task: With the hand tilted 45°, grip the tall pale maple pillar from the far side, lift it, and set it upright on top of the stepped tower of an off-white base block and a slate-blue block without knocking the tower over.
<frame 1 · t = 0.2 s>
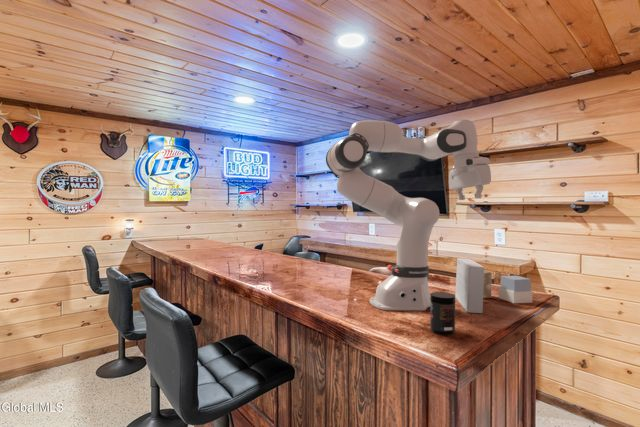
hand: (469, 199, 128), 39 cm above the bar top, tool pointing down, fingers open, 8 cm apart
base block: (515, 300, 129), on the bar top, touching top block
top block: (515, 289, 129), point 4 cm above the bar top, touching base block
skincare box: (468, 305, 122), on the bar top
maple pillar: (482, 296, 135), on the bar top
supplement container: (442, 331, 96), on the bar top
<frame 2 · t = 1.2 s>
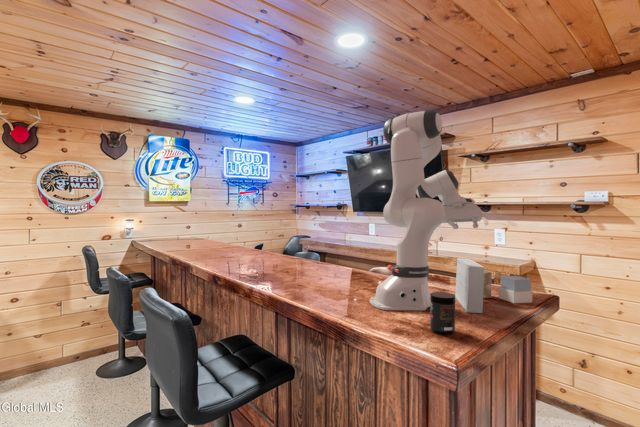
hand: (466, 227, 146), 27 cm above the bar top, tool tilted 45°, fingers open, 8 cm apart
base block: (514, 300, 129), on the bar top
top block: (515, 289, 129), point 4 cm above the bar top
everything else where it was.
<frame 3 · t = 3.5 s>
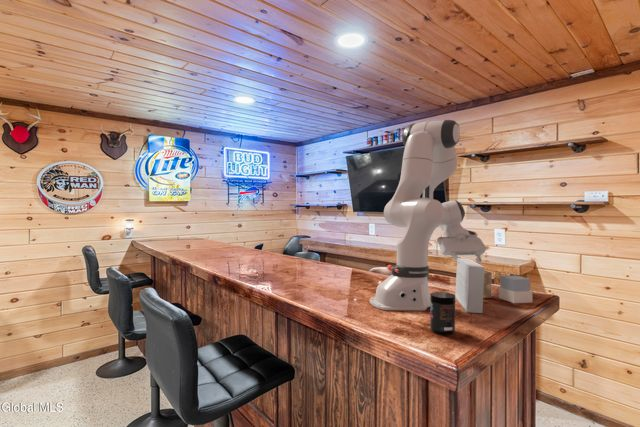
hand: (469, 261, 143), 13 cm above the bar top, tool tilted 45°, fingers open, 8 cm apart
base block: (515, 300, 129), on the bar top, touching top block
top block: (514, 288, 130), point 4 cm above the bar top, touching base block
everything else where it was.
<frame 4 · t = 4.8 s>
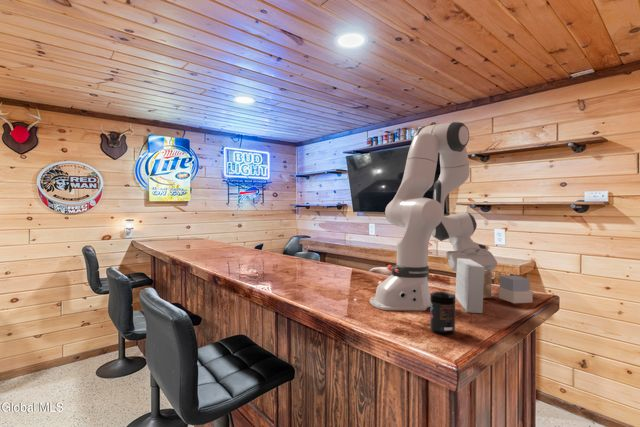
hand: (480, 277, 136), 7 cm above the bar top, tool tilted 45°, fingers open, 8 cm apart
base block: (515, 300, 129), on the bar top
top block: (514, 289, 129), point 4 cm above the bar top
everything else where it was.
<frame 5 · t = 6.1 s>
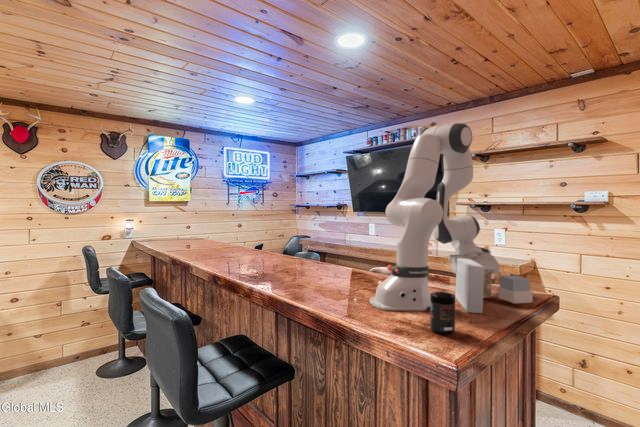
hand: (483, 282, 134), 6 cm above the bar top, tool tilted 45°, fingers closed on maple pillar, 5 cm apart
base block: (515, 300, 129), on the bar top, touching top block
top block: (514, 289, 129), point 4 cm above the bar top, touching base block
maple pillar: (482, 296, 135), on the bar top, touching gripper
everything else where it was.
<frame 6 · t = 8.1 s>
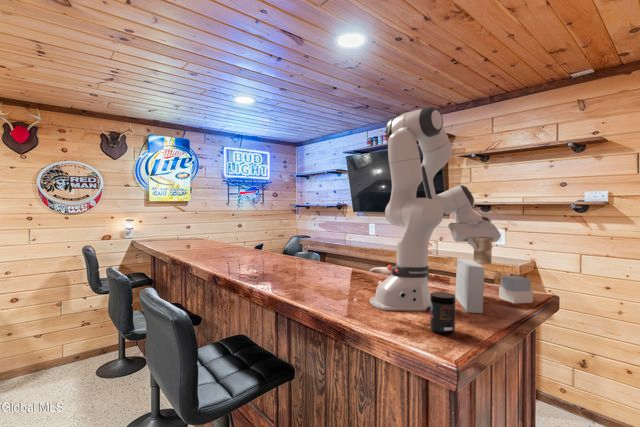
hand: (483, 248, 134), 19 cm above the bar top, tool tilted 45°, fingers closed on maple pillar, 5 cm apart
maple pillar: (482, 262, 134), point 13 cm above the bar top, touching gripper
everything else where it was.
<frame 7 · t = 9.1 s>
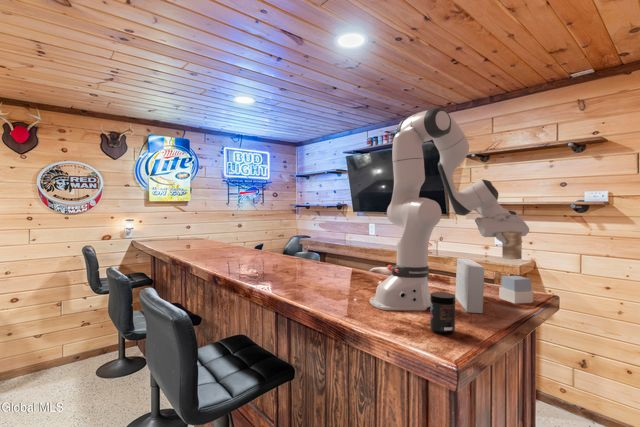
hand: (513, 243, 129), 22 cm above the bar top, tool tilted 45°, fingers closed on maple pillar, 5 cm apart
maple pillar: (511, 258, 130), point 16 cm above the bar top, touching gripper
everything else where it was.
when the fingers open (16 cm above the bar top, at t = 10.8 s): maple pillar drops 2 cm, resting on top block.
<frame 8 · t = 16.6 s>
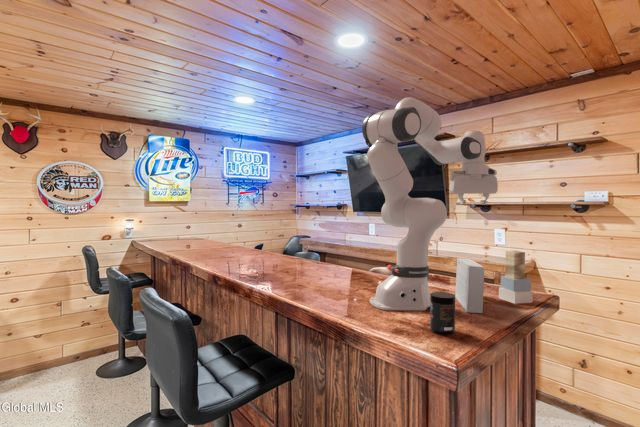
hand: (473, 204, 139), 37 cm above the bar top, tool pointing down, fingers open, 8 cm apart
top block: (515, 289, 129), point 4 cm above the bar top, touching base block, maple pillar
maple pillar: (514, 277, 129), point 9 cm above the bar top, touching top block
everything else where it was.
at the end: maple pillar 0.3 cm off-centre on the top block, point 4.5 cm above the top block's base; top block 0.0 cm off-centre on the base block, point 4.5 cm above the base block's base; maple pillar tilted 1° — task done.
